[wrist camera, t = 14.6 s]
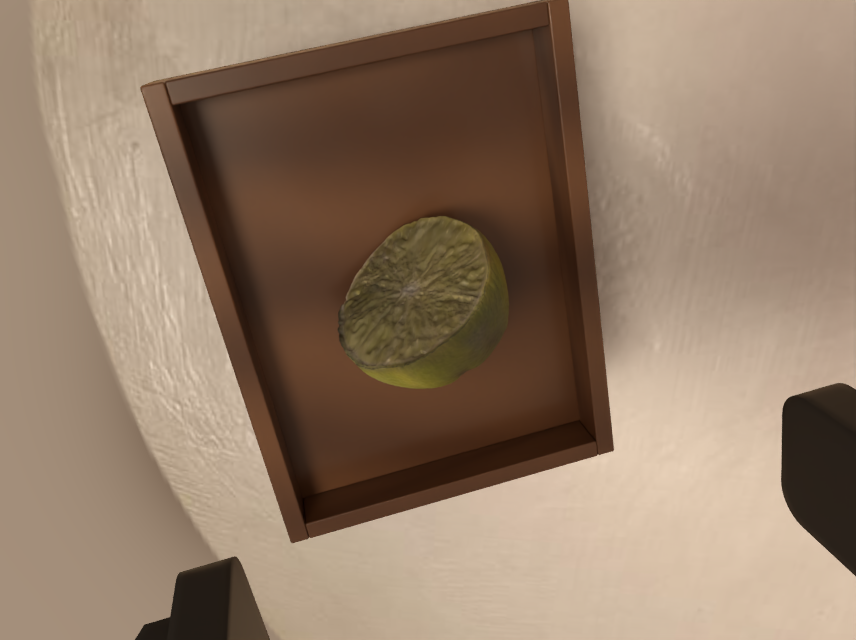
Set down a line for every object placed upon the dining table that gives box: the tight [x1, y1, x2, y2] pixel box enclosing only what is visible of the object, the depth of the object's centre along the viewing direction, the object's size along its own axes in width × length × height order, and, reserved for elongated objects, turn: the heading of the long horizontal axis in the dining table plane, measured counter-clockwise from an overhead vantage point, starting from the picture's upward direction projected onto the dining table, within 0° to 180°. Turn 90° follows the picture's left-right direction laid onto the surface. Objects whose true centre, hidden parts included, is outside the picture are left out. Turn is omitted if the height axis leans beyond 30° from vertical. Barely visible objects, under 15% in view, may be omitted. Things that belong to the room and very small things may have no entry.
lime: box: [337, 216, 509, 389], centre depth 20 cm, size 4×5×5 cm
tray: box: [141, 0, 614, 543], centre depth 25 cm, size 14×11×8 cm
